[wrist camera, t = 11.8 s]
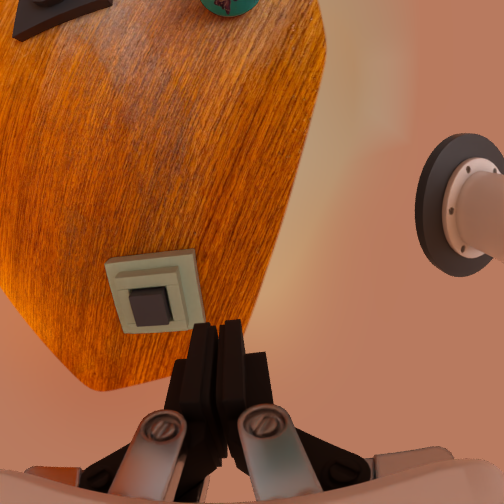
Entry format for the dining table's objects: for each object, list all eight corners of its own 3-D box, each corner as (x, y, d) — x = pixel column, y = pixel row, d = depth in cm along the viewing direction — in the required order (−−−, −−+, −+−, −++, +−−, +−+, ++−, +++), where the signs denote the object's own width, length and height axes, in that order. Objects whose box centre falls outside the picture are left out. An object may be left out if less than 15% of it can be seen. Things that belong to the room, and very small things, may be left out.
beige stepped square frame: (194, 248, 29) (190, 260, 26) (205, 319, 32) (204, 337, 29) (110, 257, 29) (97, 270, 25) (127, 324, 31) (119, 342, 28)
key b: (164, 286, 27) (161, 293, 26) (171, 316, 28) (168, 325, 27) (132, 289, 27) (128, 296, 25) (140, 318, 28) (136, 327, 26)
